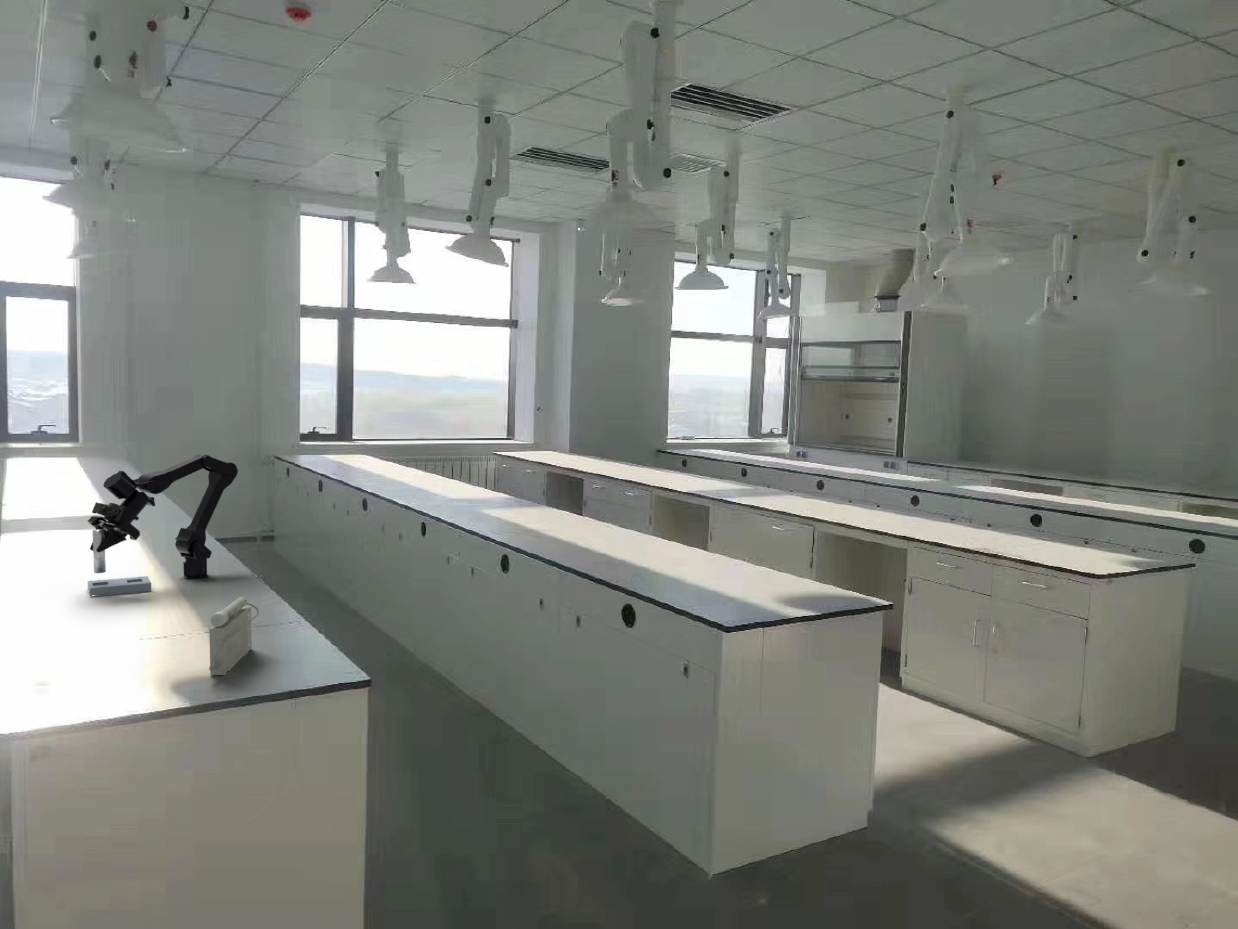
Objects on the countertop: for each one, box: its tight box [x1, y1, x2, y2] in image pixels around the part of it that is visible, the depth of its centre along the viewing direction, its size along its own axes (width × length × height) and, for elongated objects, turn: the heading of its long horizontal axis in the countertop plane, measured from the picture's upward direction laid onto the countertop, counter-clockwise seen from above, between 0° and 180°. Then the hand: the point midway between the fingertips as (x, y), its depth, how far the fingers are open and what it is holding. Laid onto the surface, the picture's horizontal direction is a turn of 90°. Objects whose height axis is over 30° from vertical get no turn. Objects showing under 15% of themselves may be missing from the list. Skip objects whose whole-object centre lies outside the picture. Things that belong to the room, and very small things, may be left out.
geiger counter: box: [208, 596, 260, 676], centre depth 209 cm, size 14×6×25 cm
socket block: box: [87, 575, 152, 597], centre depth 273 cm, size 16×10×2 cm, turn 123°
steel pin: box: [91, 528, 107, 574], centre depth 266 cm, size 3×3×12 cm
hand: (94, 550), depth 265 cm, fingers closed on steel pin, 3 cm apart
